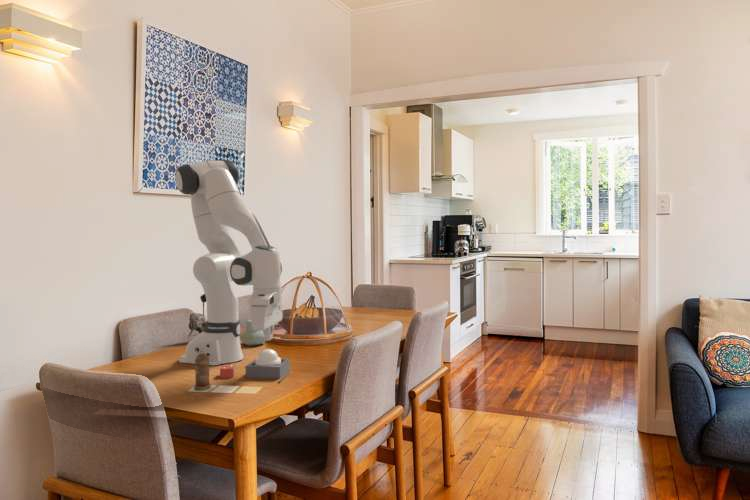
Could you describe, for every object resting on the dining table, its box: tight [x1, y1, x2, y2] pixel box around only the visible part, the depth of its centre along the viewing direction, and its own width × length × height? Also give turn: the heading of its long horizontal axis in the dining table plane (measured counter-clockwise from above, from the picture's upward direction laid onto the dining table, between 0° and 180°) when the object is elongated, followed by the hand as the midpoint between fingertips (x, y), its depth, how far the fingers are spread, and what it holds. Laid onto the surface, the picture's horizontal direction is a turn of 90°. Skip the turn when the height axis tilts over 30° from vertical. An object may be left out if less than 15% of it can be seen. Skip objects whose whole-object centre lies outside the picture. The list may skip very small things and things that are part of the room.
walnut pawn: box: [193, 353, 212, 391], centre depth 164 cm, size 5×5×10 cm
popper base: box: [245, 357, 291, 384], centre depth 181 cm, size 11×11×5 cm
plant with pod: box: [187, 293, 207, 339], centre depth 238 cm, size 8×11×20 cm
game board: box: [187, 384, 263, 395], centre depth 164 cm, size 21×9×1 cm, turn 83°
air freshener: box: [239, 318, 266, 347], centre depth 232 cm, size 11×8×10 cm
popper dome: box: [254, 348, 282, 366], centre depth 181 cm, size 8×8×6 cm
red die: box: [219, 364, 236, 379], centre depth 178 cm, size 4×4×4 cm
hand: (268, 339), depth 180 cm, fingers closed
